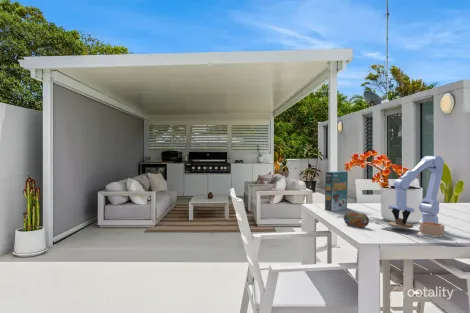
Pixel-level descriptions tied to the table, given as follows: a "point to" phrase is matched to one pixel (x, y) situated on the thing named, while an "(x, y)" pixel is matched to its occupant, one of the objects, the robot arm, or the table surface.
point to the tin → (356, 219)
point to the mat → (400, 230)
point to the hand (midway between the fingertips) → (400, 222)
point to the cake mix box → (336, 190)
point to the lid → (400, 224)
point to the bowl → (432, 229)
